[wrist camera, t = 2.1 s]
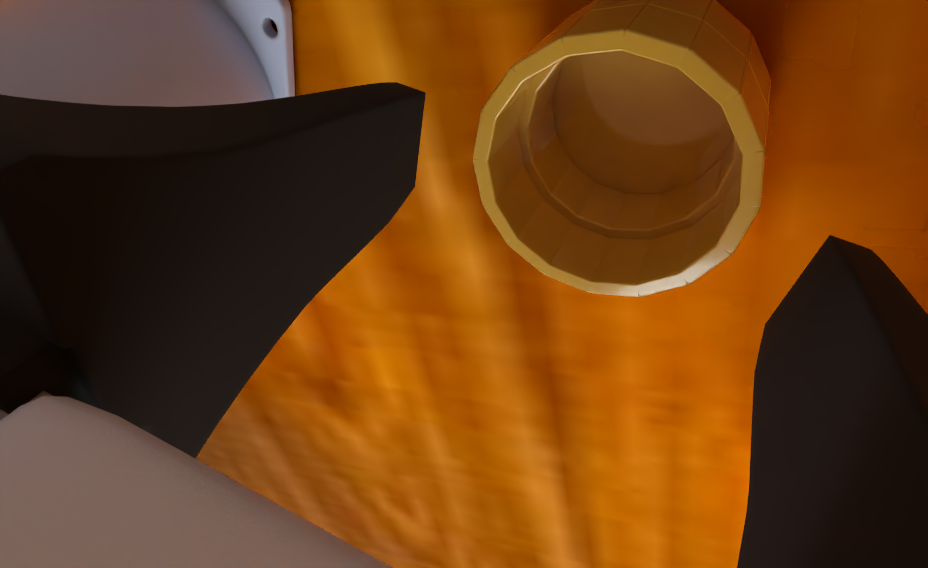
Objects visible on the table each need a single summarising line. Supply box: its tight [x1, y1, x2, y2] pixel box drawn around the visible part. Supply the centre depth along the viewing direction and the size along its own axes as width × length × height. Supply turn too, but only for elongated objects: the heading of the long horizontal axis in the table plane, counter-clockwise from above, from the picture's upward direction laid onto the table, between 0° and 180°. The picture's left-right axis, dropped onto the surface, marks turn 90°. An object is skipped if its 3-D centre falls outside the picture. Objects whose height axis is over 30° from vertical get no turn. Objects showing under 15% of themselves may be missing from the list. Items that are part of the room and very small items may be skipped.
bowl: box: [473, 0, 771, 297], centre depth 13 cm, size 5×5×4 cm
